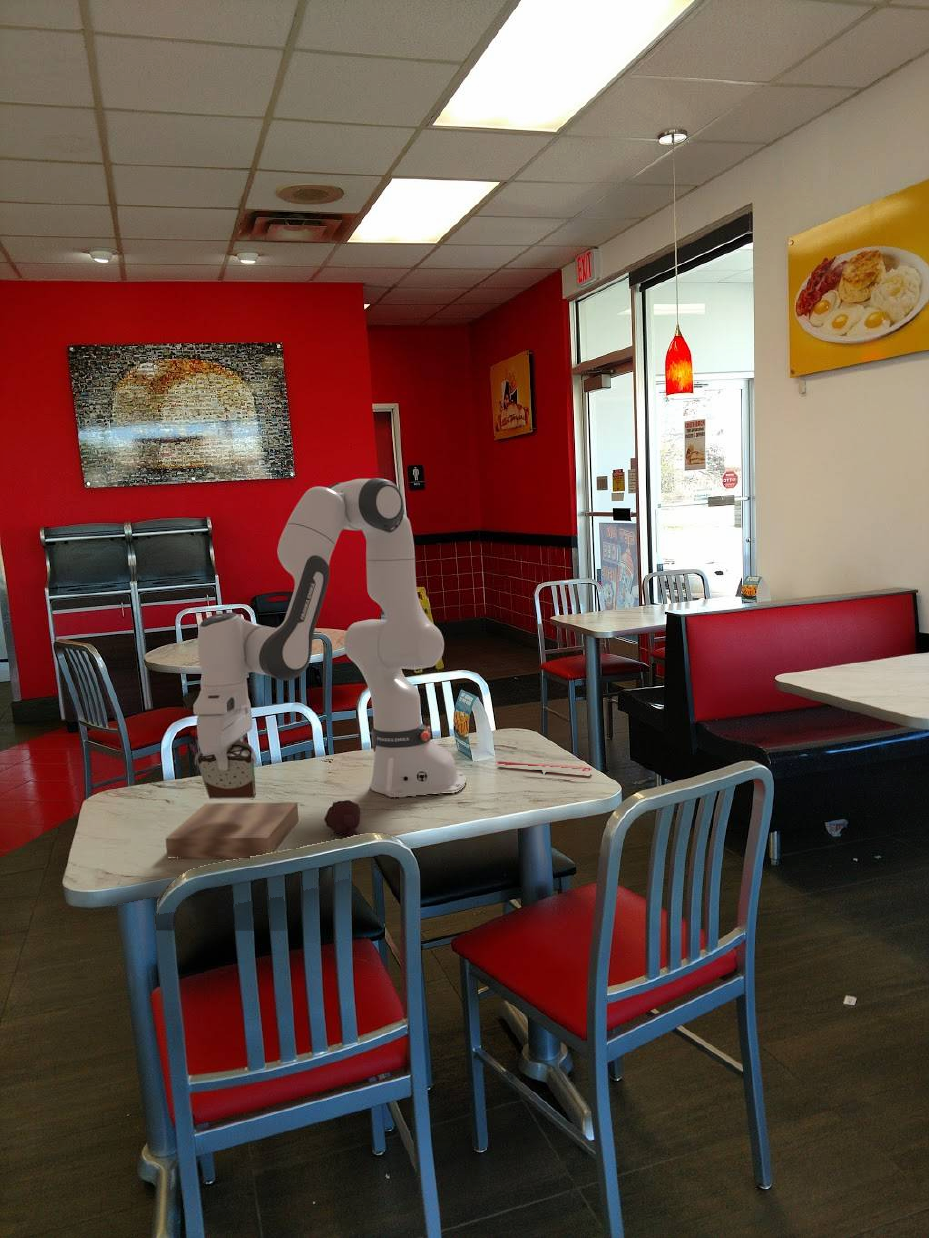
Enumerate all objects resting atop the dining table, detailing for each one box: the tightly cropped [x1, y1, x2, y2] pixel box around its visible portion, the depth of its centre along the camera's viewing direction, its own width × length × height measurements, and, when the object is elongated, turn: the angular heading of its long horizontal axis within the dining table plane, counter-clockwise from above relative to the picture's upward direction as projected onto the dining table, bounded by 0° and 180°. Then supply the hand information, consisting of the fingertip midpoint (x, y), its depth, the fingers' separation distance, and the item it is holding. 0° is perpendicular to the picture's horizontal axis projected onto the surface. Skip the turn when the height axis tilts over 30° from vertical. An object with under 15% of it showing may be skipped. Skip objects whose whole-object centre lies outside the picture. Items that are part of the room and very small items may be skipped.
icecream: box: [323, 799, 361, 837], centre depth 181 cm, size 7×7×15 cm
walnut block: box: [165, 802, 299, 859], centre depth 181 cm, size 20×20×4 cm
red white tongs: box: [496, 759, 592, 771], centre depth 216 cm, size 24×2×5 cm
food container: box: [194, 741, 258, 800], centre depth 180 cm, size 12×6×10 cm, turn 85°
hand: (230, 764), depth 179 cm, fingers closed on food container, 5 cm apart
